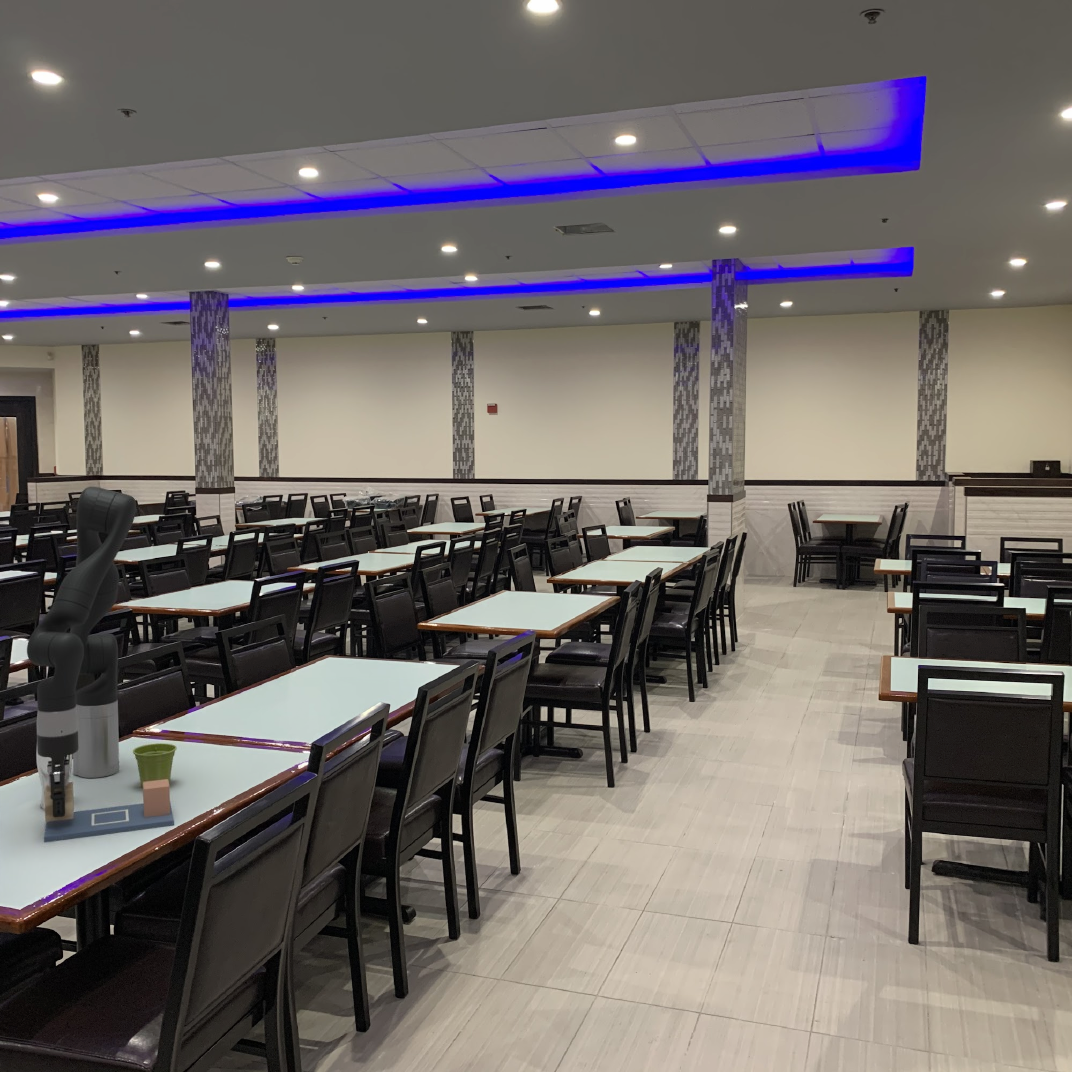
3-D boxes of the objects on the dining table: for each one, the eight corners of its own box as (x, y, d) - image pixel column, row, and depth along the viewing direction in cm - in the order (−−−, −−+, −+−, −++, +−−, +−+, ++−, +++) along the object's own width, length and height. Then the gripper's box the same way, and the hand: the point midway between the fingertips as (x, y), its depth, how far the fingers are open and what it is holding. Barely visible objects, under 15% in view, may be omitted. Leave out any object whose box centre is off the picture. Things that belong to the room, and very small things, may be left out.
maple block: (45, 821, 199) (44, 792, 198) (46, 813, 203) (46, 784, 203) (72, 818, 201) (72, 789, 200) (73, 810, 205) (73, 781, 205)
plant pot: (142, 778, 233) (142, 742, 232) (183, 779, 233) (182, 743, 233) (126, 792, 224) (126, 754, 223) (168, 792, 224) (168, 755, 223)
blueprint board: (44, 842, 195) (43, 836, 195) (47, 819, 207) (47, 814, 207) (173, 825, 204) (173, 819, 204) (169, 804, 216) (169, 799, 216)
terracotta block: (144, 817, 206) (143, 789, 205) (143, 809, 210) (142, 781, 210) (170, 814, 208) (169, 786, 207) (168, 806, 212) (168, 779, 212)
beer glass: (50, 813, 211) (48, 743, 209) (31, 806, 214) (29, 738, 213) (80, 803, 216) (78, 736, 215) (61, 797, 220) (59, 731, 219)
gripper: (77, 737, 195) (79, 821, 197) (79, 719, 208) (81, 797, 210) (34, 741, 192) (36, 826, 194) (39, 722, 205) (41, 802, 207)
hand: (59, 811), depth 202 cm, fingers closed on maple block, 5 cm apart
